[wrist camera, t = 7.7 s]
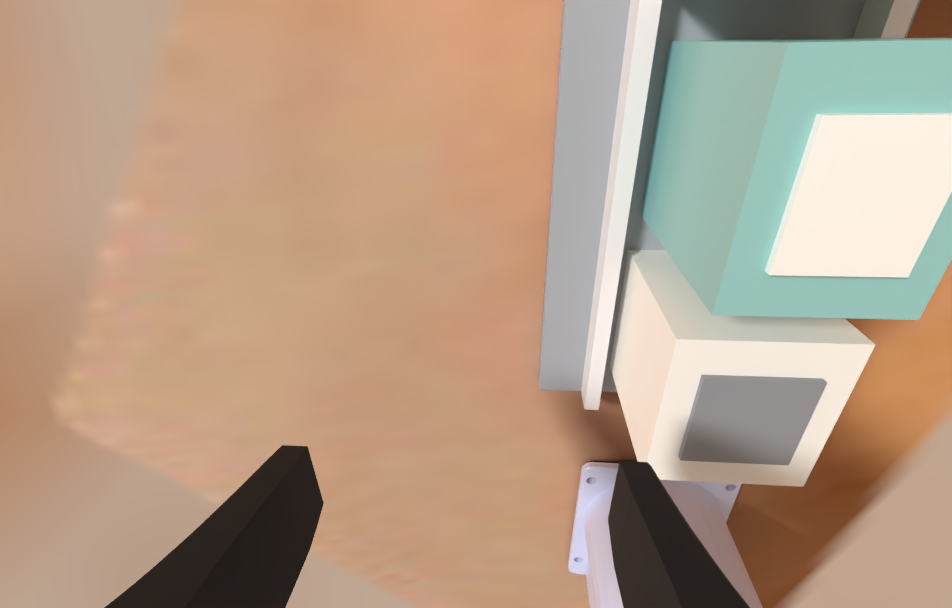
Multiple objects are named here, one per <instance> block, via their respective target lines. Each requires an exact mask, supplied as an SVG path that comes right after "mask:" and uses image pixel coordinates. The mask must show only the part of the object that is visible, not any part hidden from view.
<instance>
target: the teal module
mask: <svg viewBox="0 0 952 608" xmlns="http://www.w3.org/2000/svg"><path fill="white" fill-rule="evenodd" d="M641 216H642V218H643V219H644V221H645V222H646V223H647V225H648V226H649V228H650V229H651V230H652V232H653V233H654V235H655V236H656V237H657V239H658V240H659V242H660V243H661V244H662V246H663V247H664V249H665V250H666V251H667V253H668V254H669V256H670V257H671V258H672V260H673V261H674V263H675V264H676V266H677V267H678V268H679V270H680V271H681V273H682V274H683V275H684V277H685V278H686V280H687V281H688V282H689V284H690V285H691V287H692V288H693V289H694V291H695V292H696V294H697V295H698V296H699V298H700V299H701V301H702V302H703V303H704V305H705V306H706V308H707V309H708V310H709V312H710V313H711V315H724V316H768V317H811V318H854V319H898V320H919V318H920V317H921V315H922V313H923V311H924V309H925V307H926V306H927V304H928V302H929V300H930V298H931V296H932V295H933V293H934V291H935V289H936V287H937V286H938V284H939V282H940V280H941V278H942V276H943V275H944V273H945V271H946V269H947V267H948V265H949V264H950V262H951V260H952V38H800V39H747V40H694V41H670V44H669V50H668V56H667V62H666V68H665V74H664V79H663V85H662V91H661V97H660V103H659V109H658V115H657V121H656V127H655V133H654V139H653V145H652V151H651V157H650V163H649V169H648V174H647V180H646V186H645V192H644V198H643V204H642V210H641Z"/></svg>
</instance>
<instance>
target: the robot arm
mask: <svg viewBox="0 0 952 608" xmlns="http://www.w3.org/2000/svg"><path fill="white" fill-rule="evenodd" d="M590 477H592V478H590ZM741 485H742V484H737V483H717V482H696V481H676V480H660V479H659V478H658V476H657V475H656V473H655V471H654V470H653V468H652V466H651V465H650V464H649V463H648V462H634V461H619V463H603V462H588V463H586V464H584V465H583V466H582V469H581V476H580V483H579V490H578V497H577V504H576V511H575V518H574V525H573V532H572V539H571V546H570V553H569V560H568V568H569V571H570V572H572V573H575V574H586V580H587V588H588V596H589V603H590V608H763V607H762V605H761V602H760V600H759V598H758V596H757V593H756V591H755V589H754V586H753V584H752V582H751V579H750V577H749V575H748V573H747V570H746V568H745V566H744V563H743V561H742V559H741V556H740V554H739V552H738V550H737V547H736V545H735V543H734V540H733V538H732V536H731V534H730V531H729V529H728V527H727V524H726V522H727V519H728V517H729V514H730V512H731V509H732V507H733V504H734V502H735V500H736V497H737V495H738V492H739V490H740V487H741ZM322 507H323V500H322V496H321V493H320V489H319V486H318V482H317V479H316V475H315V472H314V468H313V465H312V461H311V457H310V454H309V450H308V447H307V446H285V445H282V446H281V447H280V448H279V449H278V450H277V451H276V452H275V453H274V454H273V455H272V456H271V457H270V458H269V459H268V460H267V461H266V462H265V463H264V464H263V465H262V466H261V467H260V468H259V469H258V470H257V471H256V472H255V473H254V474H253V475H252V476H251V477H250V478H249V479H248V480H247V481H246V482H245V483H244V484H243V485H242V486H241V487H240V488H239V489H238V490H237V491H236V492H235V493H234V494H233V495H232V496H230V497H229V498H228V499H227V500H226V501H225V502H224V503H223V504H222V505H221V506H220V507H219V508H218V509H217V510H216V511H215V512H214V513H213V514H212V515H211V516H210V517H209V518H208V519H207V520H205V521H204V522H203V523H202V524H201V525H200V526H199V527H198V528H197V529H196V530H195V531H194V532H193V533H192V534H191V535H189V536H188V537H187V538H186V539H185V540H184V541H183V542H182V543H181V544H179V545H178V546H177V547H176V548H175V549H174V550H173V551H171V552H170V553H169V554H168V555H167V556H166V557H165V558H164V559H163V560H162V561H160V562H159V563H158V564H157V565H156V566H155V567H153V568H152V569H151V570H150V571H149V572H148V573H146V574H145V575H144V576H143V577H142V578H141V579H140V580H138V581H137V582H136V583H135V584H134V585H132V586H131V587H130V588H129V589H127V590H126V591H125V592H124V593H122V594H121V595H120V596H119V597H117V598H116V599H115V600H114V601H112V602H111V603H110V604H109V605H107V606H106V607H105V608H285V607H286V605H287V602H288V600H289V597H290V595H291V593H292V591H293V588H294V586H295V583H296V581H297V579H298V576H299V574H300V572H301V569H302V567H303V564H304V562H305V560H306V557H307V555H308V552H309V550H310V547H311V544H312V541H313V537H314V534H315V531H316V528H317V524H318V521H319V517H320V514H321V510H322Z"/></svg>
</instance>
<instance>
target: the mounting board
mask: <svg viewBox="0 0 952 608" xmlns="http://www.w3.org/2000/svg"><path fill="white" fill-rule="evenodd" d="M920 2H921V0H564V2H563V17H562V32H561V48H560V63H559V78H558V93H557V109H556V124H555V139H554V154H553V170H552V185H551V200H550V215H549V231H548V246H547V261H546V276H545V292H544V307H543V322H542V337H541V353H540V368H539V390H563V391H581V393H582V399H583V404H584V409H585V410H599V404H600V397H601V392H618V396H619V399H620V403H621V406H622V410H623V413H624V416H625V420H626V423H627V427H628V430H629V434H630V437H631V441H632V444H633V448H634V451H635V454H636V458H637V461H638V462H648V463H649V464H650V465H651V466H652V468H653V470H654V471H655V473H656V475H657V476H658V478H659V479H660V480H676V481H696V482H717V483H737V484H758V485H779V486H799V487H803V486H804V484H805V483H806V481H807V479H808V477H809V475H810V473H811V471H812V469H813V467H814V465H815V463H816V461H817V459H818V457H819V455H820V453H821V451H822V449H823V447H824V445H825V443H826V441H827V439H828V437H829V435H830V433H831V431H832V429H833V427H834V425H835V424H836V422H837V420H838V418H839V416H840V414H841V412H842V410H843V408H844V406H845V404H846V402H847V400H848V398H849V396H850V394H851V392H852V390H853V388H854V386H855V384H856V382H857V380H858V378H859V376H860V374H861V372H862V370H863V368H864V367H865V365H866V363H867V361H868V359H869V357H870V355H871V353H872V351H873V349H874V347H875V344H874V343H873V342H872V341H871V340H870V339H868V338H867V337H866V336H865V335H864V334H862V333H861V332H860V331H859V330H858V329H857V328H855V327H854V326H853V325H852V324H851V323H850V322H848V321H847V320H846V319H845V318H811V317H768V316H724V315H711V313H710V312H709V310H708V309H707V308H706V306H705V305H704V303H703V302H702V301H701V299H700V298H699V296H698V295H697V294H696V292H695V291H694V289H693V288H692V287H691V285H690V284H689V282H688V281H687V280H686V278H685V277H684V275H683V274H682V273H681V271H680V270H679V268H678V267H677V266H676V264H675V263H674V261H673V260H672V258H671V257H670V256H669V254H668V253H667V251H666V250H665V249H664V247H663V246H662V244H661V243H660V242H659V240H658V239H657V237H656V236H655V235H654V233H653V232H652V230H651V229H650V228H649V226H648V225H647V223H646V222H645V221H644V219H643V218H642V216H641V210H642V204H643V198H644V192H645V186H646V180H647V174H648V169H649V163H650V157H651V151H652V145H653V139H654V133H655V127H656V121H657V115H658V109H659V103H660V97H661V91H662V85H663V79H664V74H665V68H666V62H667V56H668V50H669V44H670V41H694V40H747V39H800V38H907V35H908V33H909V30H910V27H911V25H912V22H913V20H914V17H915V15H916V12H917V10H918V7H919V4H920Z"/></svg>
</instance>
